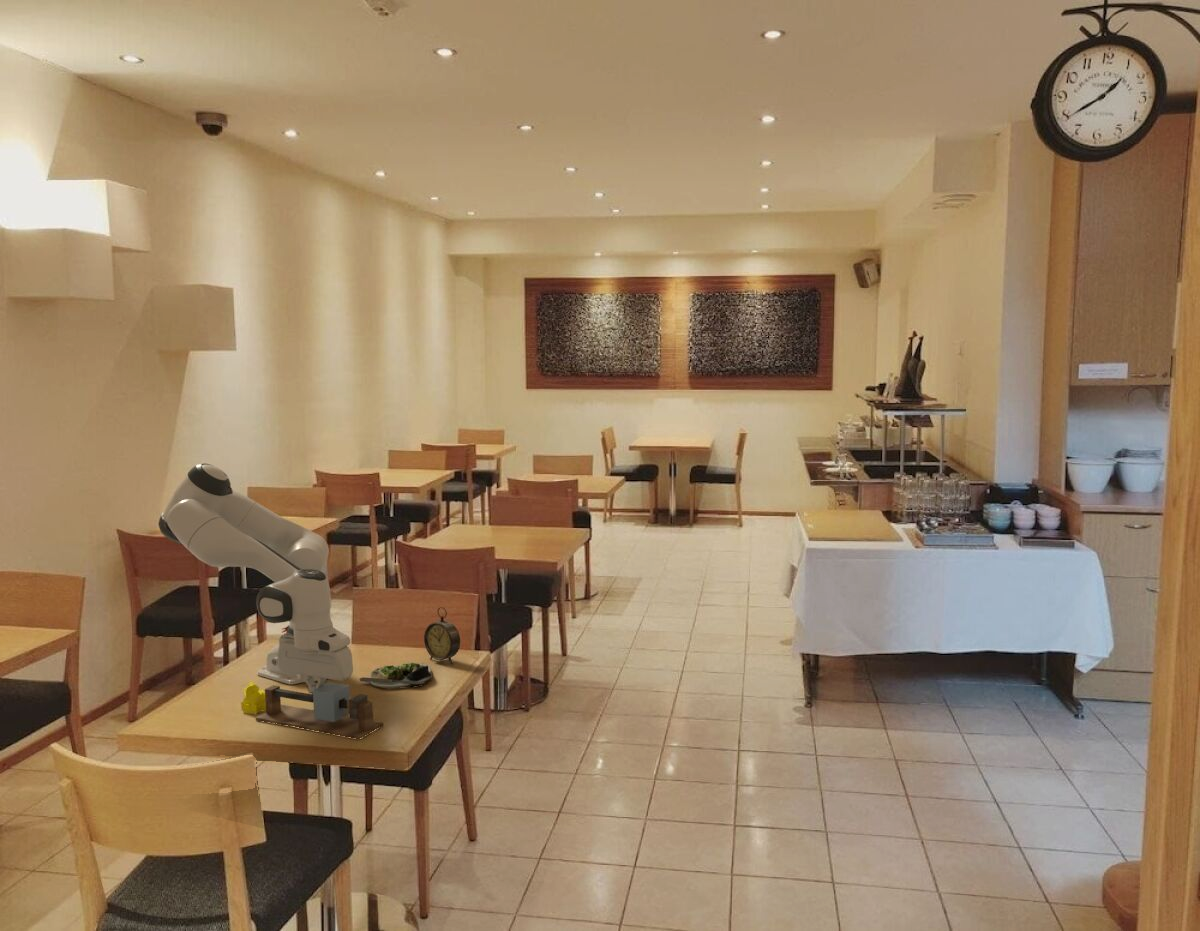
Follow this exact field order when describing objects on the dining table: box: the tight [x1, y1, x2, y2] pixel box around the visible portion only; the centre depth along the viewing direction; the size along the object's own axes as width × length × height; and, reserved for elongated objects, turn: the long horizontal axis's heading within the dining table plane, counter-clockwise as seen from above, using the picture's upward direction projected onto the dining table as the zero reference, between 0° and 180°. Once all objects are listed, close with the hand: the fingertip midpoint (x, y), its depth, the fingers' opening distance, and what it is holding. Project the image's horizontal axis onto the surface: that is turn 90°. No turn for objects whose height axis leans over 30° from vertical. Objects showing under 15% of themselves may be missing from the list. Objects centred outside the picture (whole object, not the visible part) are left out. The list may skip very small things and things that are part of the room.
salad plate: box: [359, 662, 433, 690], centre depth 256 cm, size 19×18×5 cm
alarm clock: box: [423, 606, 461, 665], centre depth 270 cm, size 11×5×16 cm, turn 55°
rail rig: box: [255, 684, 384, 740], centre depth 226 cm, size 31×9×8 cm, turn 67°
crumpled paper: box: [240, 679, 266, 714], centre depth 236 cm, size 6×8×8 cm
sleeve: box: [312, 681, 351, 722], centre depth 224 cm, size 6×6×7 cm
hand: (315, 692), depth 226 cm, fingers closed
